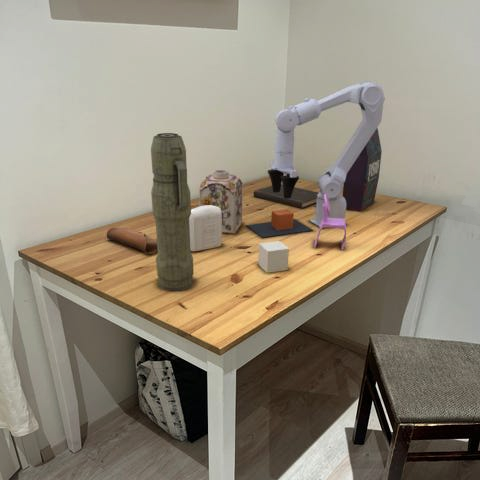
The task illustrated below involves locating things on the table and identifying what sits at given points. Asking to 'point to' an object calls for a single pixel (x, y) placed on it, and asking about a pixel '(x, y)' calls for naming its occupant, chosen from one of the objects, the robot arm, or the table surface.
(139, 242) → the sunglasses case
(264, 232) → the back mat
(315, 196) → the hardcover book
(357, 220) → the table surface
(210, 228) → the photo printer
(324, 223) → the toy chair
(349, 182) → the decorative box
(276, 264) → the white cube
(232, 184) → the decorative jar
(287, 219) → the orange box
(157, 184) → the thermos
